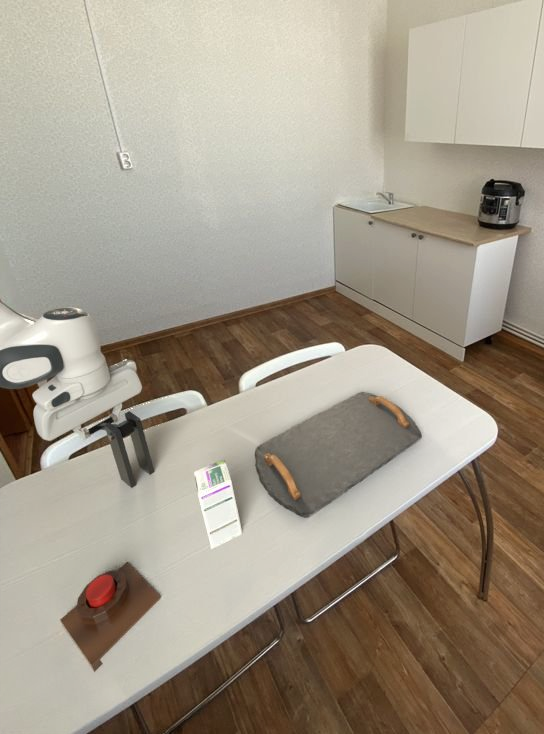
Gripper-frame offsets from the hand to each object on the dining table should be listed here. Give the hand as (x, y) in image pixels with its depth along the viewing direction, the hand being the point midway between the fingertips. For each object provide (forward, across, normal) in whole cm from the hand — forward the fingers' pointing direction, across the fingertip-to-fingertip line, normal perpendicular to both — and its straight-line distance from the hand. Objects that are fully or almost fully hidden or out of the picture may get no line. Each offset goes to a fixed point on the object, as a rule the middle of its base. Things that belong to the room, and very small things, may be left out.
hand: (100, 429), depth 88 cm
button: (+5, +16, +33) cm, 37 cm away
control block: (+8, +16, +35) cm, 39 cm away
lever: (-3, 0, +7) cm, 8 cm away
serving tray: (+8, -30, +46) cm, 55 cm away
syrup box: (+8, -2, +39) cm, 40 cm away
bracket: (+8, 0, +13) cm, 15 cm away
